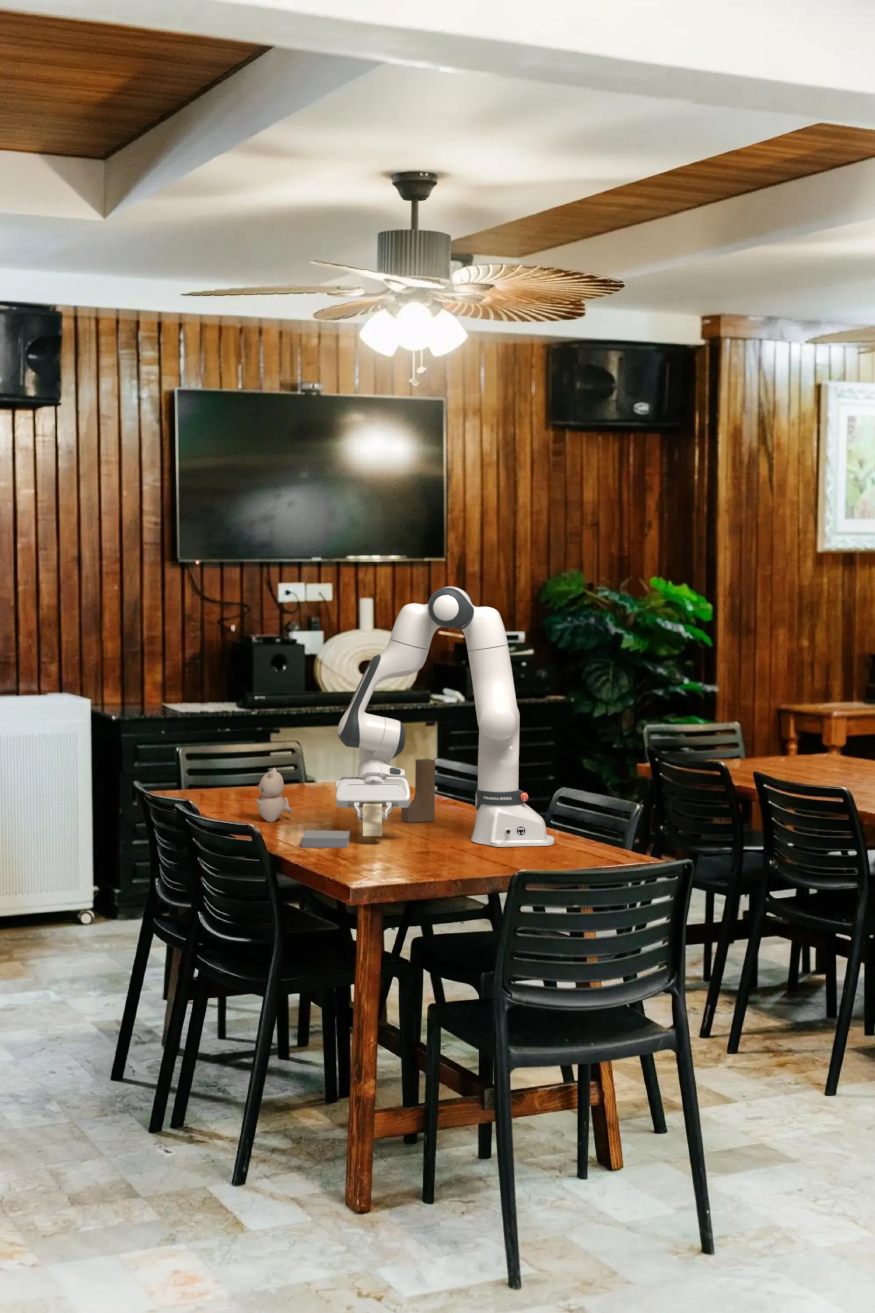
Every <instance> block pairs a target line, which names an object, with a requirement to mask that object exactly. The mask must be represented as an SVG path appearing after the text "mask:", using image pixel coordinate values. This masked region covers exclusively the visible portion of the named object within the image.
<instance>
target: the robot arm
mask: <svg viewBox="0 0 875 1313" xmlns="http://www.w3.org/2000/svg"><path fill="white" fill-rule="evenodd" d="M439 628H446V629H454V630H460V631H462V632H463V635H464V638H465V643H466V649H467V650H466V651H467V655H468V656H467V657H468V662H469V668H470V674H471V682H472V690H473V696H474V697H473V698H474V705H475V712H476V713H475V714H476V719H477V726H478V729H479V730H478V732H479V733H478V751H477V752H478V754H477V757H478V758H477V788H476V789H475V810H476V814H475V815H476V816H475V823H474V827H473V832H472V835H471V839H470V841H471V842H472V843H473V842H474V843H475V844H480V845H486V846H487V845H488V846H492V847H496V848H497V847H498V848H499V847H500V848H502V847H503V848H508V847H509V848H510V847H544V846H545V847H546V846H547V847H548V846H552V845H554V844H555V837H554V836H552V835H550V834H547V833H548V832H547V826H546V823H545V820H544V818H543V817H542V816H541V815H540V814H539V813H538V812H537V811H535V810H534V809H533V808H531V807H530V806H529V805H527V804H526V801H528V800H529V795H528V793H527V792H524V791H523V790H521V789H519V780H520V779H519V777H520V776H519V774H520V772H519V769H520V767H519V764H520V761H519V759H520V758H519V757H520V717H521V716H520V715H521V714H520V711H519V708H518V703H517V698H516V696H517V695H516V690H515V683H514V676H513V668H512V662H511V656H510V655H511V654H510V650H509V644H508V638H507V634H506V633H507V632H506V630H505V629H506V628H505V625H504V622H503V620H502V616H501V614H500V612H499V611H498V610H497V609H495V608H493V607H490V606H475V605H473V600H472V599H471V597H470V595H469V594H468V593H467V592H466V591H465V590H463V589H461V588H459V587H456V586H445V587H442V588H439V589H437V590H436V591H434V592H433V593H432V594H431V595H430V598H429V600H428V603H426V604H422V603H416V602H414V603H413V602H412V603H411V602H410V603H408V604H405V605H404V606H403V607H402V608H401V609H400V611H399V613H398V615H397V618H396V620H395V621H394V625H393V628H392V631H391V634H390V637H389V641H388V643H387V645H386V647H385V648H384V649H383V650H382V652H380V653H379V654H376V655H374V656H373V657H372V658H371V660H370V661H369V663H368V664H367V666H366V669H365V670H364V673H363V675H362V677H361V679H360V681H359V683H358V685H357V687H356V690H355V692H354V694H353V695H352V699H351V700H350V703H349V704H348V706H347V708H346V710H345V711H344V713H343V715H342V717H341V718H340V721H339V723H338V727H337V736H338V739H339V740H340V741H341V743H342V744H343V745H344V746H345V747H346V748H347V747H348V748H355V749H358V759H359V762H358V763H359V764H358V766H357V767H358V768H357V770H358V771H357V776H350V777H349V776H348V777H347V776H343V777H341V778H338V779H336V781H335V789H336V794H335V804H336V806H337V807H338V808H341V809H342V808H345V809H346V808H351V809H354V810H353V811H354V812H355V813H356V815H357V820H359V821H361V820H362V821H363V810H361V809H363V804H364V803H382V809H385V810H382V821H383V820H384V821H385V820H386V821H387V820H388V816H389V814H390V813H391V811H392V810H393V808H395V809H396V808H397V809H398V808H400V809H401V808H407V807H409V805H410V803H411V790H410V785H409V781H408V780H407V773H406V771H405V769H403V768H399V767H395V766H392V765H390V762H391V760H394V759H395V758H396V757H397V756H399V755H400V754H401V753H402V752H403V750H404V749H405V745H406V737H407V736H406V733H407V732H406V731H407V730H406V728H405V727H404V724H403V723H402V722H401V721H400V720H398V719H394V718H389V717H386V716H380V715H375V714H370V713H367V712H366V708H367V706H368V704H369V701H370V700H371V697H372V695H373V693H374V691H375V689H376V686H377V685H379V684H380V683H381V682H383V681H385V680H388V679H395V678H400V677H401V678H403V677H408V676H410V675H413V674H415V673H417V672H418V671H420V670H421V669H422V668H423V667H424V665H425V662H426V661H427V657H428V654H429V651H430V647H431V643H432V640H433V637H434V634H435V632H436V631H437V630H439Z"/></svg>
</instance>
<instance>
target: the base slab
mask: <svg viewBox="0 0 875 1313" xmlns="http://www.w3.org/2000/svg"><path fill="white" fill-rule="evenodd" d="M350 841H351V831H350V830H305V831H304V833H303V835H302V837H301V848H318V849H319V848H325V849H326V848H327V849H329V848H332V849H337V848H338V849H341V848H343V849H348V847H349V846H350V845H349V844H350Z"/></svg>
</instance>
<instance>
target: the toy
mask: <svg viewBox="0 0 875 1313" xmlns="http://www.w3.org/2000/svg"><path fill="white" fill-rule="evenodd" d="M284 785H285V784H284V779H283V776H282V775H281V773H279V772H278V771H277V769H276V767H273V768H272V769H271V770H269V771H267V772H266V773H265V774H264V775H263V776H262V778H261V779H260V781H259V782H258V784H257V786H258V792H259V794H260V795H261V796H258V797H257V798H256V800H255V801H256V804H257V810H258V812H259V814H260V816H261V817H262V818H263V819H264V820H265V821H266V822H268V823H273V822H275V821H277V820H278V818H279V817H280V816H281V815H282V814H283V813H284V812H285V811H286V812H287V813H288V814H293V812H294V811H293V808H292V807H290V805H289V800H288V797H283V796H282V795H283V791H284Z"/></svg>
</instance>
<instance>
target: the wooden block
mask: <svg viewBox="0 0 875 1313" xmlns="http://www.w3.org/2000/svg"><path fill="white" fill-rule="evenodd" d="M414 776H415V780H414V782H415V783H414V784H415V785H414V789H415V790H414V797H413V800H411V801H410V805H409V807H407V808H400V809H401V810H400V811H401V812H400V813H401V815H400V818H401V821H402V822H404V823H407V824H414V823H415V824H416V823H428V822H434V821H435V820H436V819H435V816H436V814H435V811H436V807H435V806H436V805H435V803H436V790H435V789H436V760H434V759H431V758H420V759H419V758H418V759H415V775H414Z"/></svg>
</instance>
